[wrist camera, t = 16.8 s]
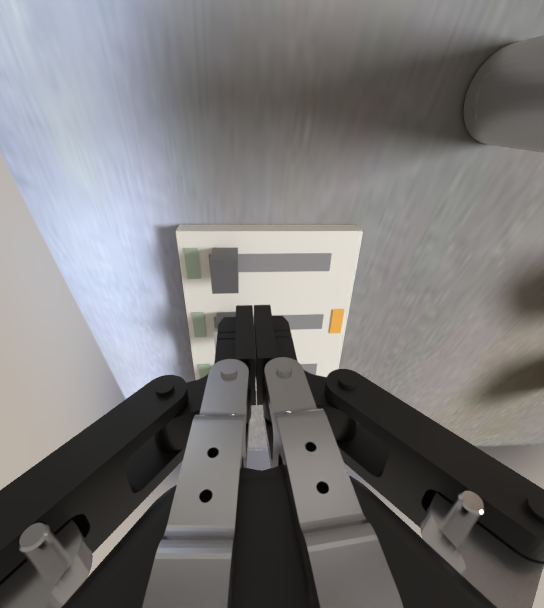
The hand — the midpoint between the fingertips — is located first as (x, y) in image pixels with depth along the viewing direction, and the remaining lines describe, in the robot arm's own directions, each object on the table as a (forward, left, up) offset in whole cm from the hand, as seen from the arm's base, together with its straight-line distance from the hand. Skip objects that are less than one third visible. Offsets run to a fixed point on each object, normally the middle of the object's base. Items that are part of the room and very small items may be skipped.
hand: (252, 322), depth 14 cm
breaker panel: (-3, +17, -27) cm, 32 cm away
